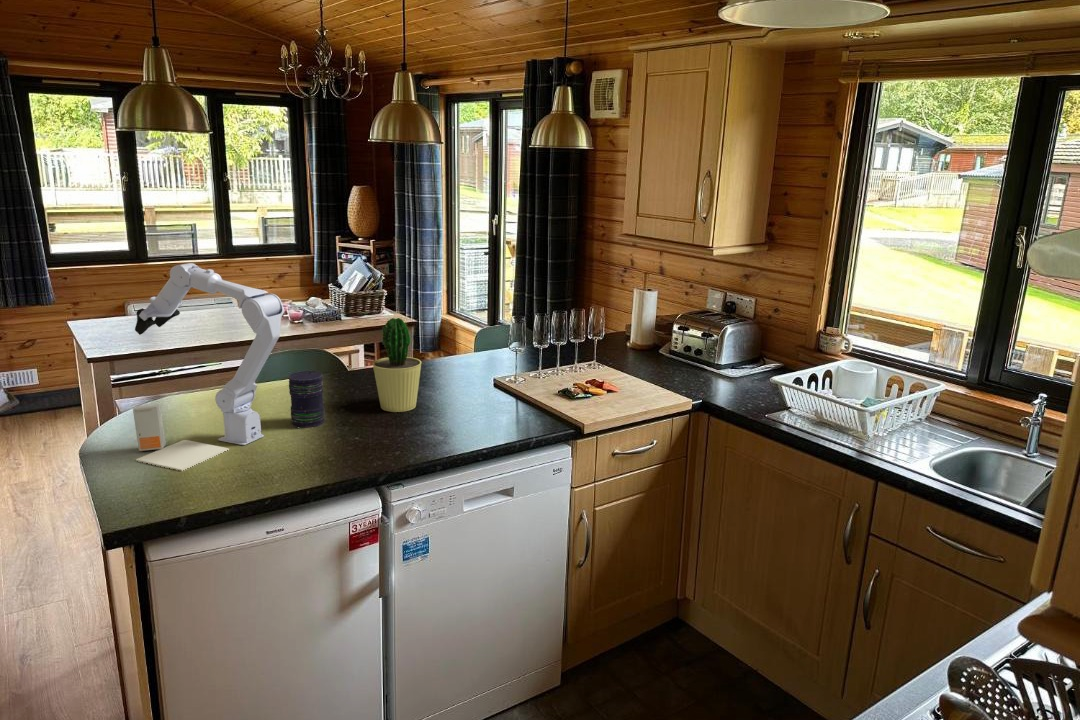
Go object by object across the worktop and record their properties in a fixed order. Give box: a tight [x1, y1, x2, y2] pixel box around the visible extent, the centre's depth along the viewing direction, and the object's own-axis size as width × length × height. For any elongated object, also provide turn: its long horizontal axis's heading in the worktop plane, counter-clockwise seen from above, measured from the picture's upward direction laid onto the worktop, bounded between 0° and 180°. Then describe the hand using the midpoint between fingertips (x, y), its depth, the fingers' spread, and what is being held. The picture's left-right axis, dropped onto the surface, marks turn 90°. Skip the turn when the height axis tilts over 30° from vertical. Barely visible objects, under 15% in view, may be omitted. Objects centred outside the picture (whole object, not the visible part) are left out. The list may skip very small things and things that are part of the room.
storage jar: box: [288, 370, 326, 429], centre depth 225 cm, size 10×10×15 cm
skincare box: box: [132, 402, 167, 452], centre depth 202 cm, size 6×4×12 cm
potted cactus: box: [372, 317, 422, 413], centre depth 240 cm, size 15×15×30 cm
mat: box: [135, 439, 230, 472], centre depth 200 cm, size 16×16×1 cm
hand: (147, 328), depth 214 cm, fingers open, 7 cm apart
